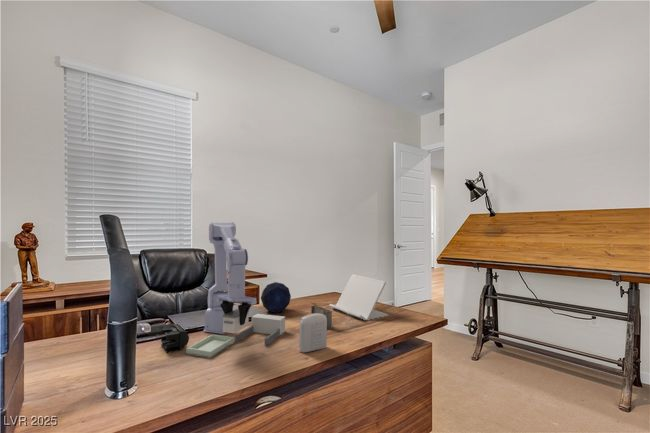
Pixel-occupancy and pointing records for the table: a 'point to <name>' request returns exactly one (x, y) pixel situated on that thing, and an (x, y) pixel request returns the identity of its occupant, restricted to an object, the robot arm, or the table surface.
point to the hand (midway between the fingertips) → (235, 323)
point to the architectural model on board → (323, 311)
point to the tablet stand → (361, 297)
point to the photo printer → (312, 332)
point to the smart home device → (158, 329)
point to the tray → (210, 346)
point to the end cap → (174, 338)
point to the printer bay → (264, 327)
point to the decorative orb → (275, 297)
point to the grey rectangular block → (233, 321)
